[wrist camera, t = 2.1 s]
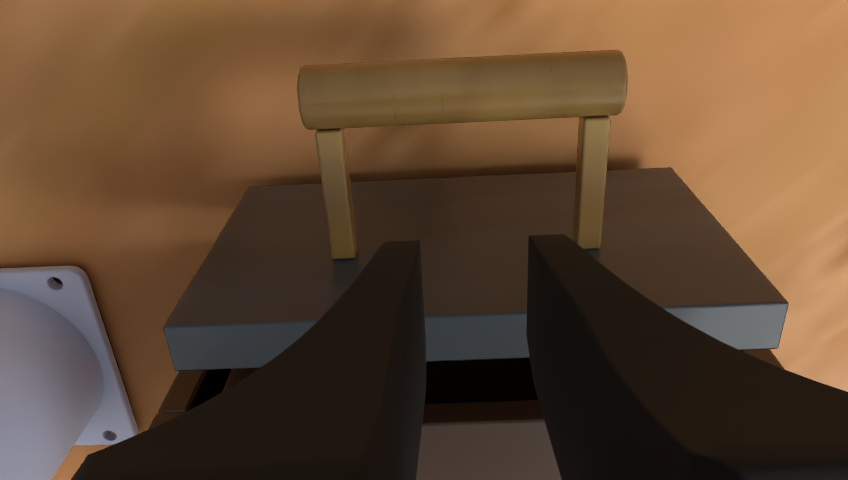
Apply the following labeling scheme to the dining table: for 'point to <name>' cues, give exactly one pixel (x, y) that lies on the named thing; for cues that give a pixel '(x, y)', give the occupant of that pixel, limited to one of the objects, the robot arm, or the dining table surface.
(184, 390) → the cabinet
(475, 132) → the dining table surface
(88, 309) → the robot arm
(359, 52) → the dining table surface
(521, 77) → the drawer
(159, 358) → the dining table surface
